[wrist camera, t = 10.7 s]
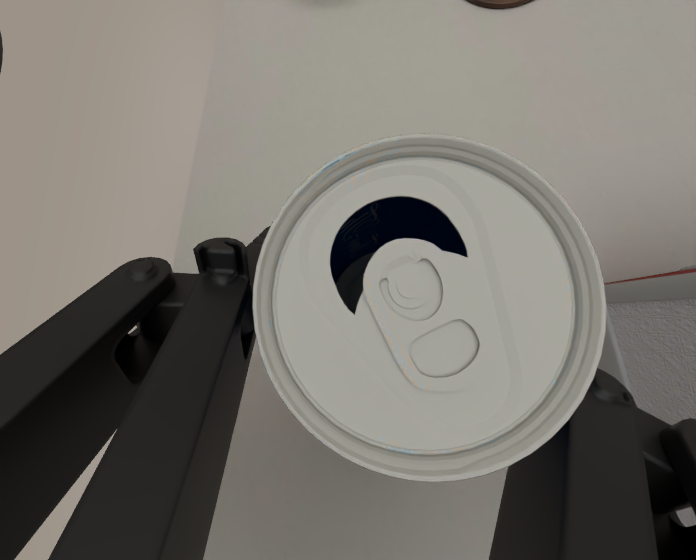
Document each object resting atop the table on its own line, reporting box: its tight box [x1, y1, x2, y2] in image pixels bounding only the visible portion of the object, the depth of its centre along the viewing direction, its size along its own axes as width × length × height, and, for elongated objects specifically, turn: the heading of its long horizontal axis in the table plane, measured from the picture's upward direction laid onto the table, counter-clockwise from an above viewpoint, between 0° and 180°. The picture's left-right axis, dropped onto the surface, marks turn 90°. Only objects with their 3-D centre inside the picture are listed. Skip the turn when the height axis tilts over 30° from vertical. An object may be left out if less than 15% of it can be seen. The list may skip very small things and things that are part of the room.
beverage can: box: [253, 134, 606, 482], centre depth 11 cm, size 6×6×12 cm
